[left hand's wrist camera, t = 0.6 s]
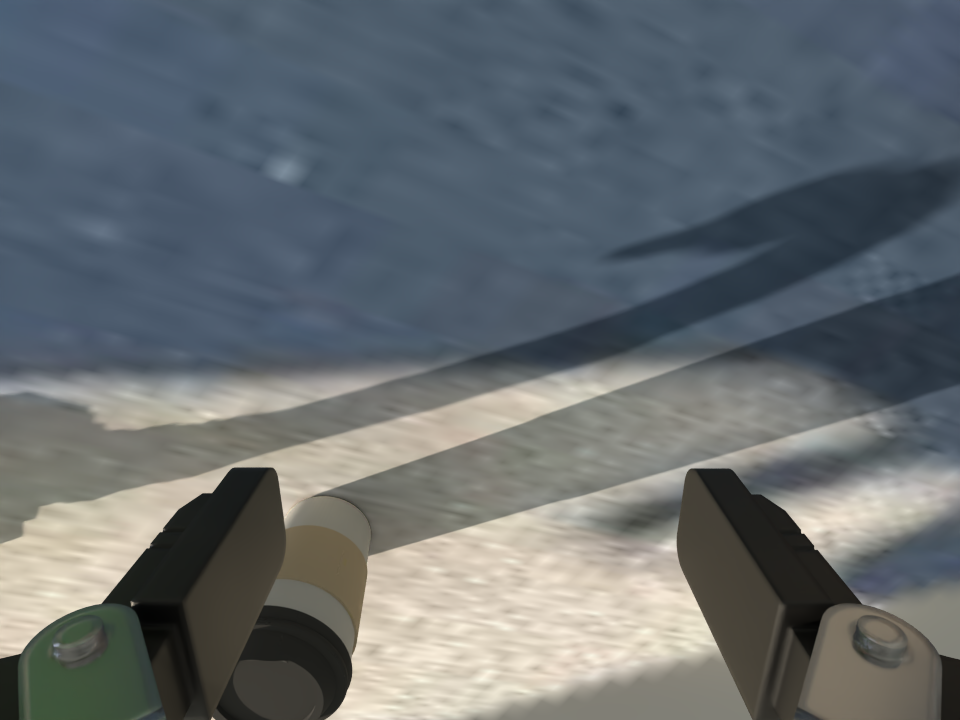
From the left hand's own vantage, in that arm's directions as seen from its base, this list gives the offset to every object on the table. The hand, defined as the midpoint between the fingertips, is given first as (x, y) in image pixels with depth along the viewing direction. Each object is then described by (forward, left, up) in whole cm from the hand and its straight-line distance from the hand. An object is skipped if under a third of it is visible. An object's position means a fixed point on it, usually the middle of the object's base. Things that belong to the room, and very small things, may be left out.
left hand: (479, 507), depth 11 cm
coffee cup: (+23, -11, -29) cm, 38 cm away
